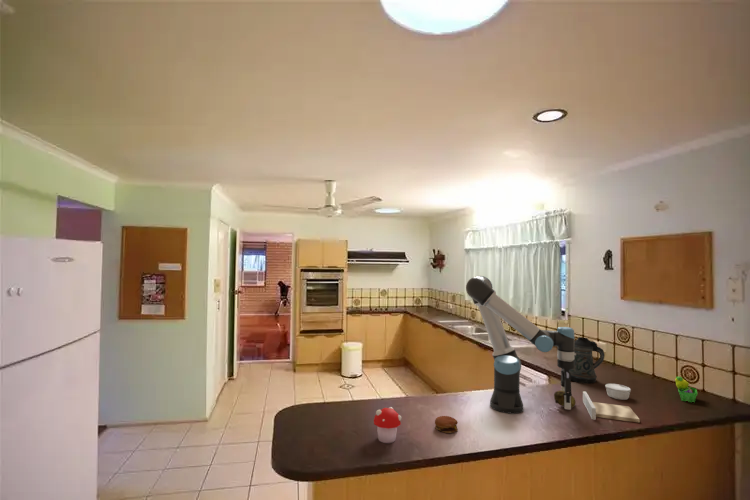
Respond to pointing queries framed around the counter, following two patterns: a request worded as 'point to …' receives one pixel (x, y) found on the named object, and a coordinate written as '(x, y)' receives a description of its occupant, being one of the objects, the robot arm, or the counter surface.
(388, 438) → the mushroom
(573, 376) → the beer stein
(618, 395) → the ramekin
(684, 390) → the fruit basket
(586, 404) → the divider wall
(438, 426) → the burger
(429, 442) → the counter surface
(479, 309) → the robot arm
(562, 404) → the potato
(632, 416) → the cutting board
